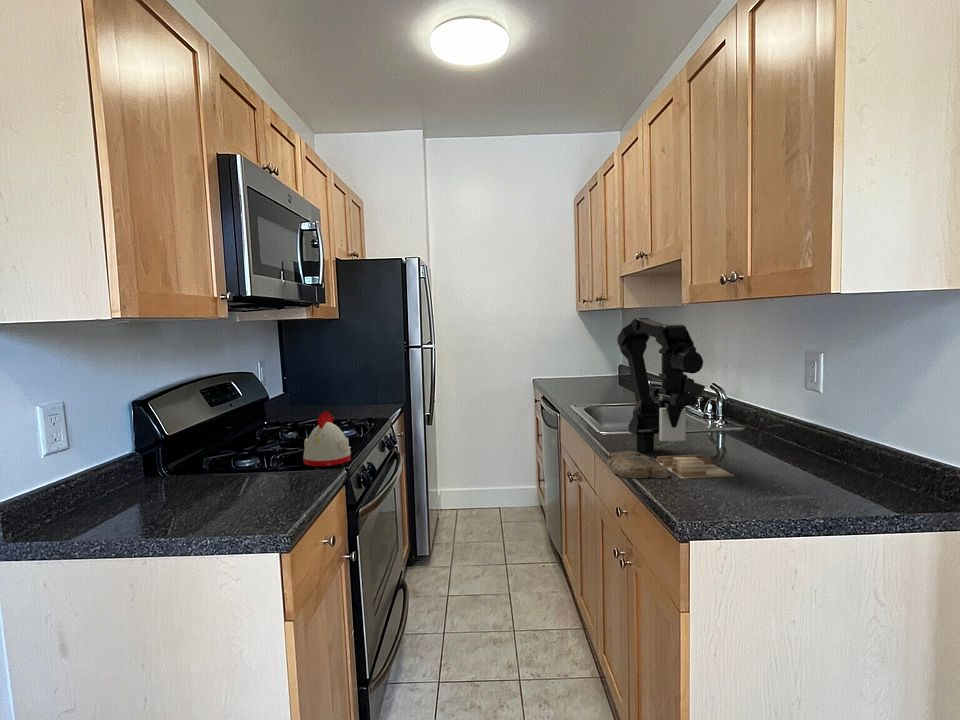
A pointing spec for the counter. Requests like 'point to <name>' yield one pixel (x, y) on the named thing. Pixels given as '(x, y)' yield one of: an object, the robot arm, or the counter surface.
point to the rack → (709, 467)
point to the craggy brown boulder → (635, 465)
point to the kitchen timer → (326, 444)
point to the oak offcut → (688, 468)
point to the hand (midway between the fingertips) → (672, 426)
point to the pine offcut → (688, 461)
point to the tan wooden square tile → (689, 473)
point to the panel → (667, 430)
